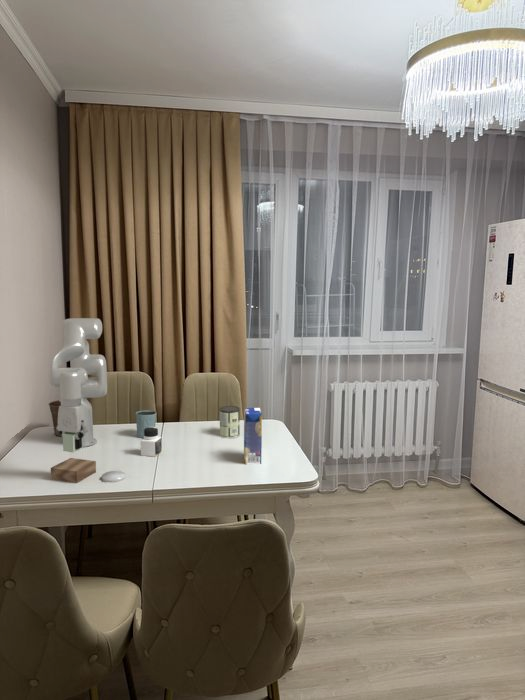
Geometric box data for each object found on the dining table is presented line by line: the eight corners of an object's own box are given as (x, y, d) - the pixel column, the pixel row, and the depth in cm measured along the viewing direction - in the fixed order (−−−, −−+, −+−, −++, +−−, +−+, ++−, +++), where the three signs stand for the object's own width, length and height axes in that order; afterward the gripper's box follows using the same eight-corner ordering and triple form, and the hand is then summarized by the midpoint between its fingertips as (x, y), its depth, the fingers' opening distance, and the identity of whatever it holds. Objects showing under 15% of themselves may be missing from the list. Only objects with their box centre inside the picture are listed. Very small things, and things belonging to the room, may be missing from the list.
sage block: (63, 450, 201) (62, 433, 200) (72, 447, 206) (71, 430, 205) (73, 452, 200) (72, 435, 199) (82, 448, 204) (81, 431, 203)
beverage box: (258, 455, 231) (259, 407, 228) (261, 464, 220) (261, 414, 217) (243, 455, 230) (244, 407, 227) (245, 464, 219) (245, 414, 216)
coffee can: (227, 431, 267) (227, 404, 265) (243, 434, 262) (243, 407, 260) (215, 436, 258) (215, 408, 256) (232, 439, 253) (232, 411, 251)
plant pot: (47, 431, 263) (46, 400, 261) (80, 427, 271) (79, 397, 269) (52, 440, 249) (51, 407, 247) (87, 435, 257) (86, 404, 255)
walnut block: (51, 480, 201) (50, 467, 200) (71, 469, 212) (70, 457, 211) (77, 483, 197) (76, 471, 196) (96, 473, 208) (95, 461, 208)
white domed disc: (97, 481, 200) (97, 477, 199) (110, 473, 208) (110, 469, 208) (117, 484, 197) (117, 480, 197) (129, 476, 206) (129, 472, 205)
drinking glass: (132, 435, 257) (131, 412, 255) (148, 431, 265) (148, 408, 263) (144, 440, 250) (143, 416, 249) (160, 435, 258) (160, 412, 256)
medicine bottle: (155, 457, 227) (155, 430, 225) (140, 455, 228) (140, 429, 227) (161, 451, 234) (161, 426, 232) (147, 450, 235) (146, 425, 234)
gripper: (46, 402, 200) (48, 447, 202) (82, 406, 194) (84, 453, 196) (60, 398, 207) (62, 442, 209) (95, 402, 201) (96, 447, 203)
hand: (72, 447), depth 203 cm, fingers closed on sage block, 5 cm apart
